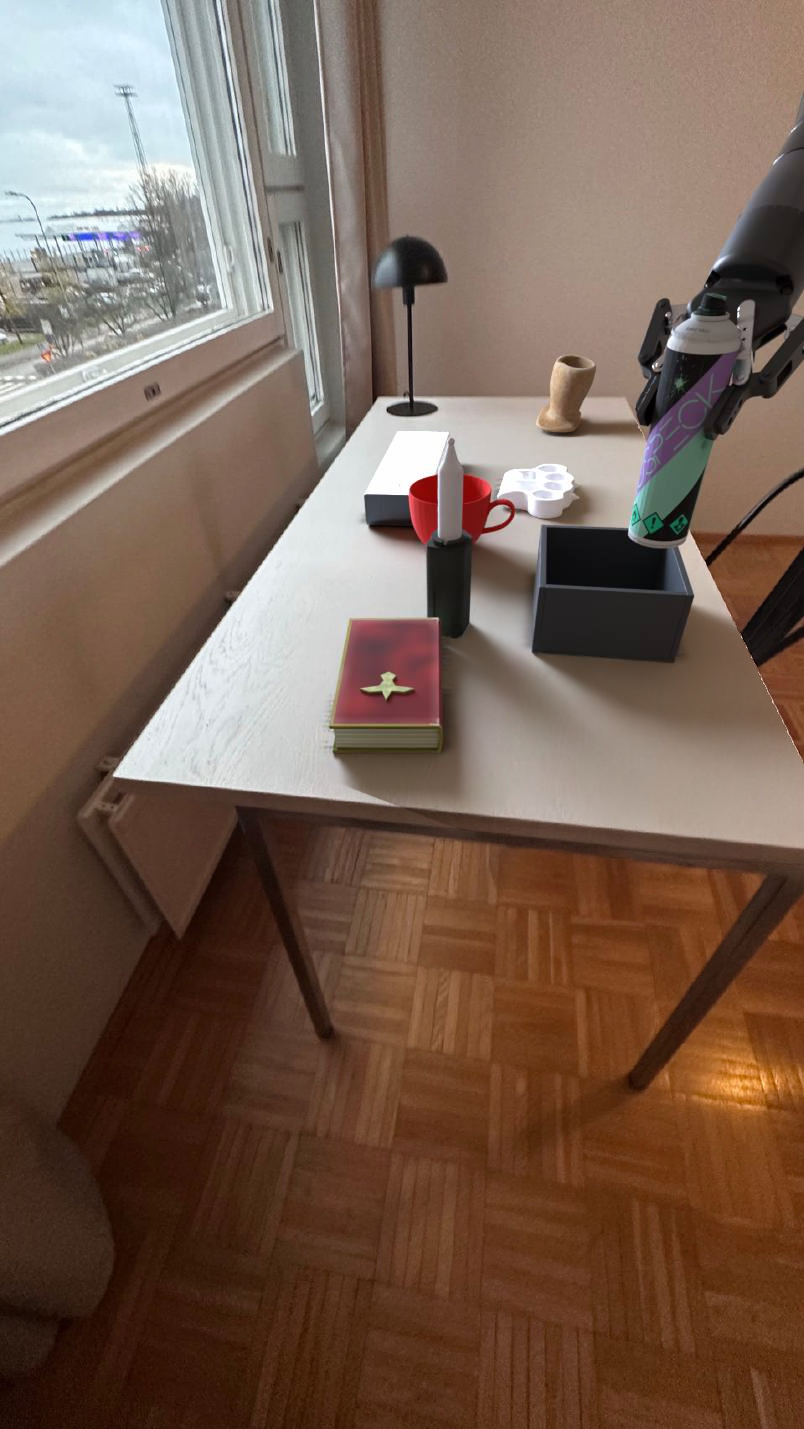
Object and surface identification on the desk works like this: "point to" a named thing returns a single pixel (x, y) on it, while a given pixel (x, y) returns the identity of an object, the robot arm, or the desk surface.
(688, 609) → the bin
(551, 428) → the stone cup
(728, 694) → the desk surface
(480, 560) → the desk surface
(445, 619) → the candle
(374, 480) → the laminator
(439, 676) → the hardcover book
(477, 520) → the ceramic cup
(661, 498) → the spray can
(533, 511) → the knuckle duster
